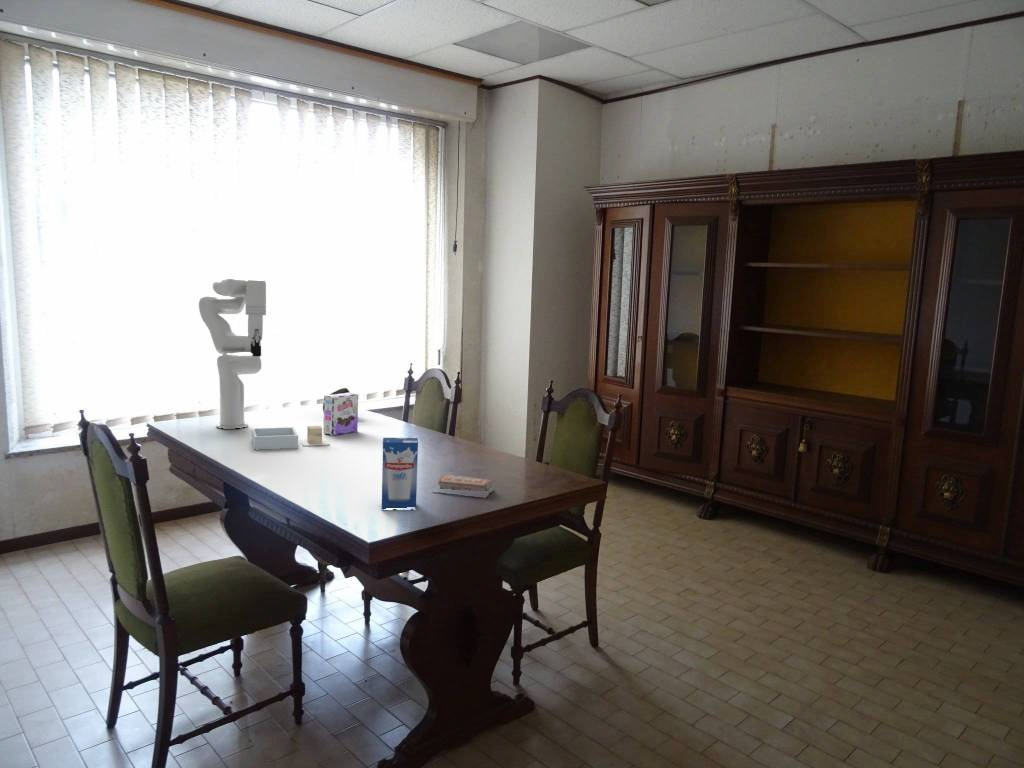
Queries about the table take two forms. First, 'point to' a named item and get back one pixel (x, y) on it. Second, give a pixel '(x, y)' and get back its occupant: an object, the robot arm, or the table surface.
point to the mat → (305, 443)
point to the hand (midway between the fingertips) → (255, 354)
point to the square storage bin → (274, 438)
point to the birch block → (314, 434)
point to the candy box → (340, 413)
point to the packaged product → (464, 483)
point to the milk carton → (399, 472)
